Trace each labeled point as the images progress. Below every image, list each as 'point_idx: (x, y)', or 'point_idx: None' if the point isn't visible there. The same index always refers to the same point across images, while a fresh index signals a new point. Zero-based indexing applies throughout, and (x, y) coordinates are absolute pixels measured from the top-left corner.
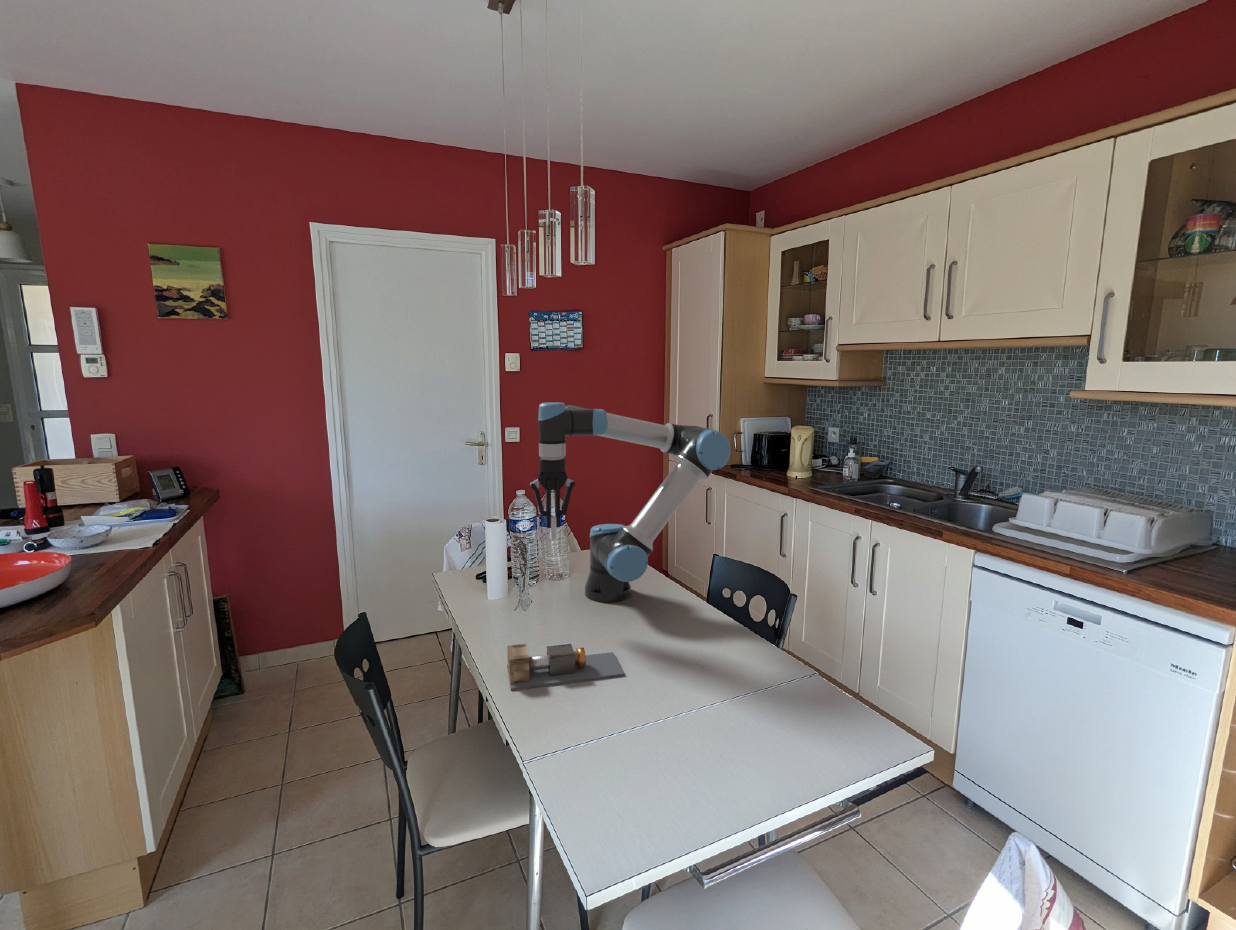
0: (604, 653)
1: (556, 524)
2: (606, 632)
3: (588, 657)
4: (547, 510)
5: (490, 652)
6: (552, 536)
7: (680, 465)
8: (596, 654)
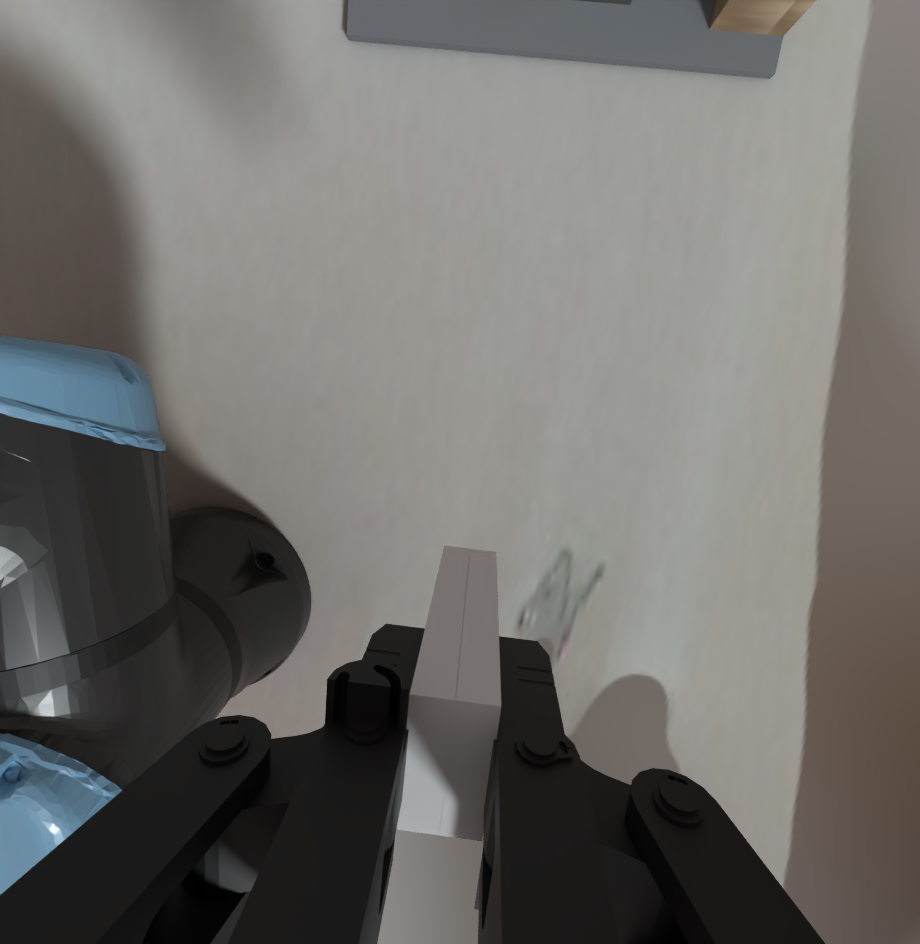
0: (382, 33)
1: (417, 651)
2: (320, 252)
3: (453, 20)
4: (587, 851)
5: (790, 237)
6: (484, 564)
7: None
8: (415, 37)
